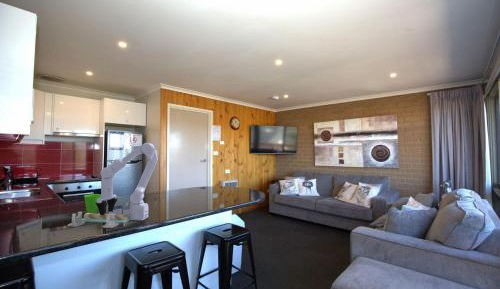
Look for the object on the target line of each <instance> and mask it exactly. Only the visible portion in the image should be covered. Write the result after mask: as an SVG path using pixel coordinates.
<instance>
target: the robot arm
mask: <svg viewBox="0 0 500 289" xmlns="http://www.w3.org/2000/svg"><path fill="white" fill-rule="evenodd" d="M143 154H144V155H145V156H146V158H147V160H148V161H147V163H146V166H145V167H144V170H143V172H142V174H141V177H140V179H139V181H138V184H136V188H135V189H134V191H133V193H131V194H130V196H129V201H130V202H129V217H130V219H129V221H144V220H146V219H147V218H149V217H150V216H149V204H148V203H147V202H146V203H145V201H144V198H145V191H146V188H147V186H148V183H149V181H150V179H151V177H152V174H153V172H154V170H155V167H156V165H157V163H158V161H159V159H158V151H157V148H156V146H155V145H154V144H153V143H151V142H145V143H143V144H141V145H139V146H137V147H135V148H134V149H133V150H132V151H131V152H129V153H128V154H127V155H125V156H124V157H123V158H121V157H120V158H115V159H114V161H113V162H111V163H110V164H108V165H106V166H107V167H103V168H102V169H101V171H100V176H101V191H100V192H101V194H100V195H101V196H100V197H99V199H97V202H96V205H97V207H98V213H100V215H105V214H106V209H108V213H109V212H110V213H114V208H115V206H116V204H117V202H118V198H117V194H114V176H115V174H117V173H118V172H120V171H121V170H123V169H124V168H125V167H126V166H127V163H128V162H130V161H131V160H133V159H134V158H136V157H137V156H139V155H143Z"/></svg>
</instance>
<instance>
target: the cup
mask: <svg viewBox="0 0 500 289" xmlns="http://www.w3.org/2000/svg"><path fill="white" fill-rule="evenodd" d="M83 197H84V203H85V211H86V213H98V211H99V209H98V207H97V205H96V202H97V199H99V197H101V194H99V193H93V194H92V193H91V194H85V195H83Z"/></svg>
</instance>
